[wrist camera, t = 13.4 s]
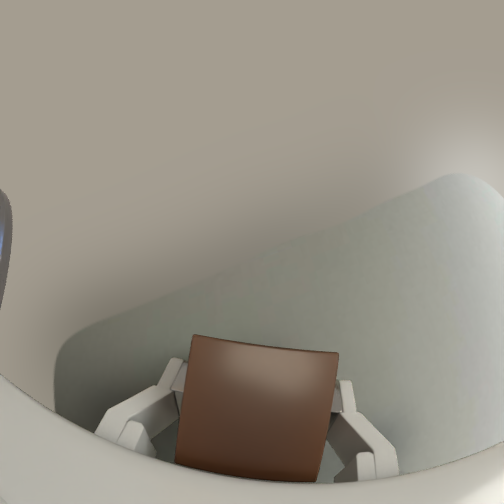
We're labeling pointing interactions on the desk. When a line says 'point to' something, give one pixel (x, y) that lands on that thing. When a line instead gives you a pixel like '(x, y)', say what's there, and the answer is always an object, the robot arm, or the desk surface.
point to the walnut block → (255, 410)
